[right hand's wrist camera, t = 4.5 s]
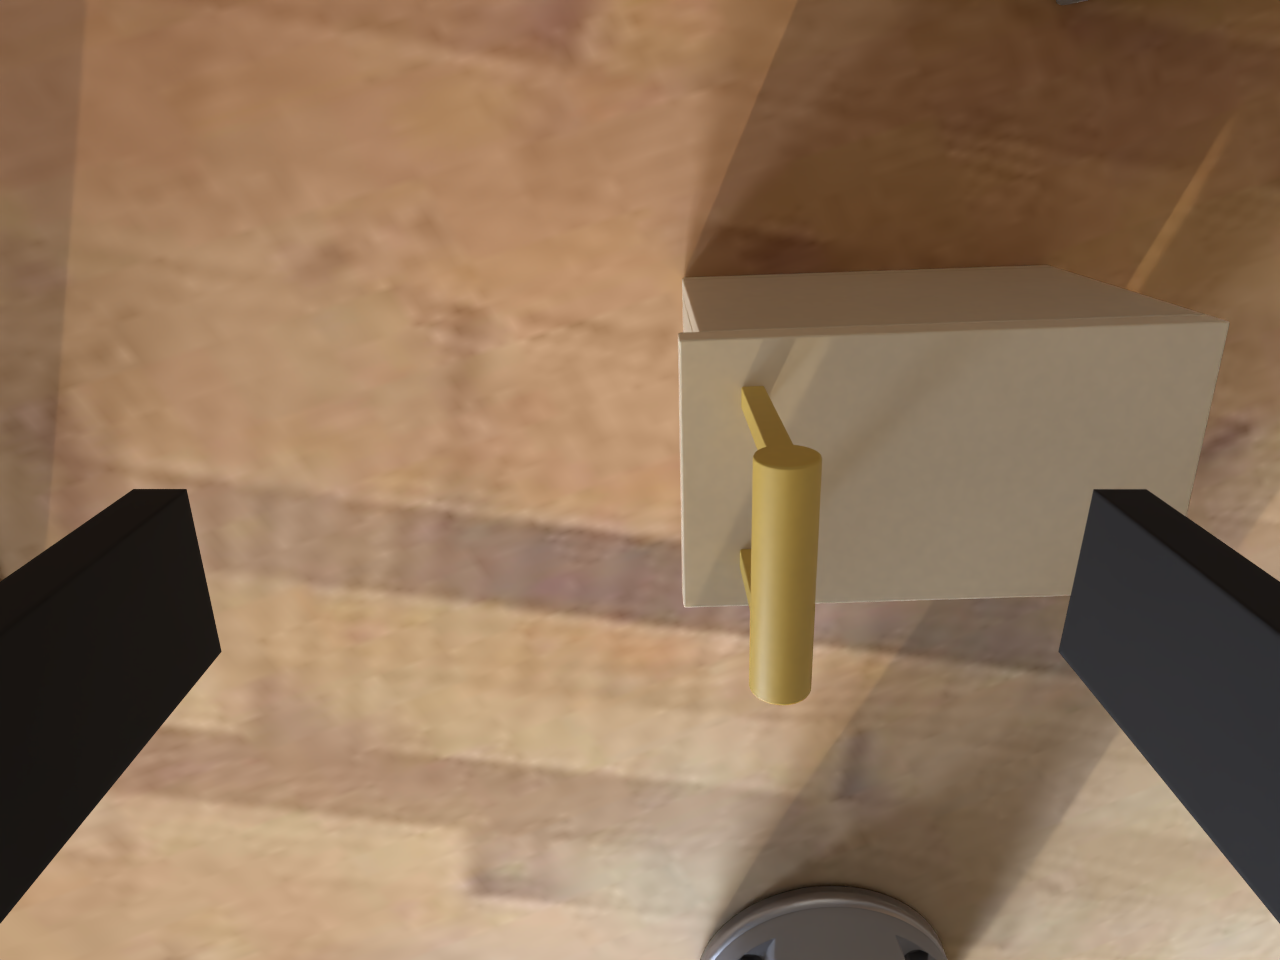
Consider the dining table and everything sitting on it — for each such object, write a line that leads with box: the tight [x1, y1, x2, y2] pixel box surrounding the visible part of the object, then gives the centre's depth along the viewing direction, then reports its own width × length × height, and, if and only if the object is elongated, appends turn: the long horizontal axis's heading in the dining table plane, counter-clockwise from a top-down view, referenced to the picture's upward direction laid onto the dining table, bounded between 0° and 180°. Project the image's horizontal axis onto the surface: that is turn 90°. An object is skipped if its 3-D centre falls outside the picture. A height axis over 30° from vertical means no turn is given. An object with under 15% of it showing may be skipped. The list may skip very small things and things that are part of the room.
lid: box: [678, 315, 1230, 705], centre depth 24 cm, size 16×9×8 cm, turn 92°
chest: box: [682, 265, 1205, 332], centre depth 33 cm, size 16×9×11 cm, turn 92°
